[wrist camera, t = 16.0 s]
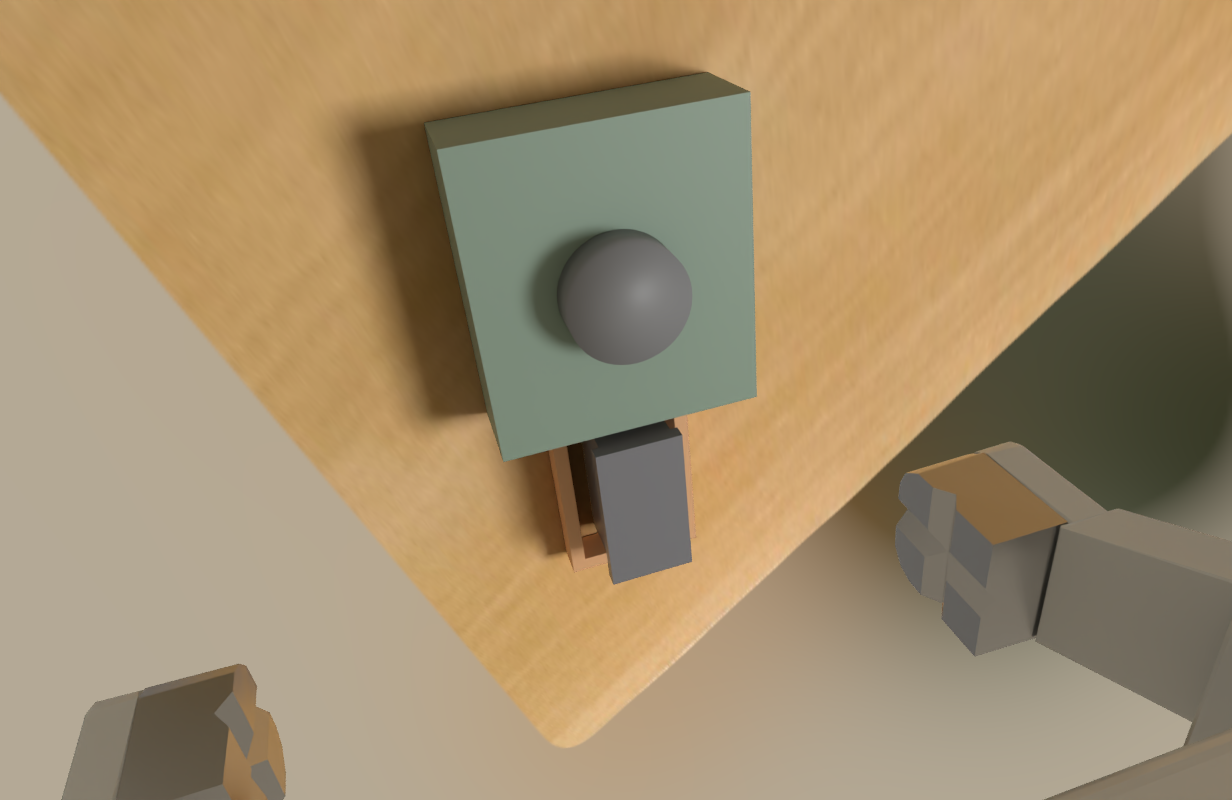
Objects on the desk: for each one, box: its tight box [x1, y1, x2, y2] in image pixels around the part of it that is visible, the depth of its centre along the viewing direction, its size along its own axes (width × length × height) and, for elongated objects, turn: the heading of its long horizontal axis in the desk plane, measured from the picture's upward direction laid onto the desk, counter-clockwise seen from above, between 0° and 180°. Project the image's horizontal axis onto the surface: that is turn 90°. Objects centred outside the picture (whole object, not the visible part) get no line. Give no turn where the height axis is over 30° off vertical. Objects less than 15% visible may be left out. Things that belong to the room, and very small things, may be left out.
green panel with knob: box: [424, 72, 757, 572], centre depth 46 cm, size 14×27×7 cm, turn 6°
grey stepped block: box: [582, 421, 692, 584], centre depth 50 cm, size 5×9×6 cm, turn 7°
